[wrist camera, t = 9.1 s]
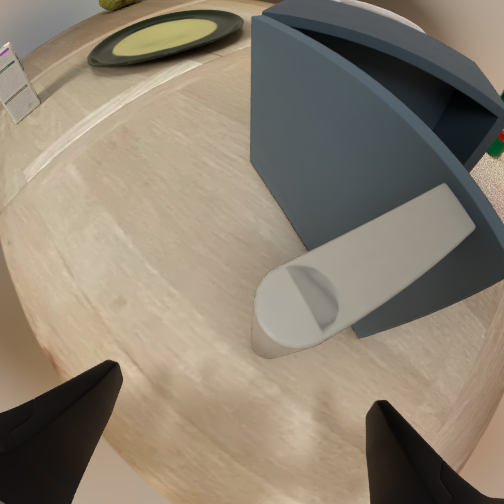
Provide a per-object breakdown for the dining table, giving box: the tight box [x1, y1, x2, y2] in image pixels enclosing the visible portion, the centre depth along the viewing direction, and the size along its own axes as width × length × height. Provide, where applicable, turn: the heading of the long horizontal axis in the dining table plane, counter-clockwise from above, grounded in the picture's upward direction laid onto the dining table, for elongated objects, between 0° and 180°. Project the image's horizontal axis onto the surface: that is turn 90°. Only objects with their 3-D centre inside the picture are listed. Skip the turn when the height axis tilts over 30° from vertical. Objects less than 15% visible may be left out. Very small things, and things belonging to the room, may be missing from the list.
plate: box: [88, 10, 244, 67], centre depth 33 cm, size 28×28×2 cm
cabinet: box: [262, 0, 504, 173], centre depth 17 cm, size 9×16×13 cm, turn 69°
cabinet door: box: [250, 15, 504, 359], centre depth 12 cm, size 7×16×12 cm, turn 26°
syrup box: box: [0, 42, 40, 124], centre depth 22 cm, size 6×6×14 cm
